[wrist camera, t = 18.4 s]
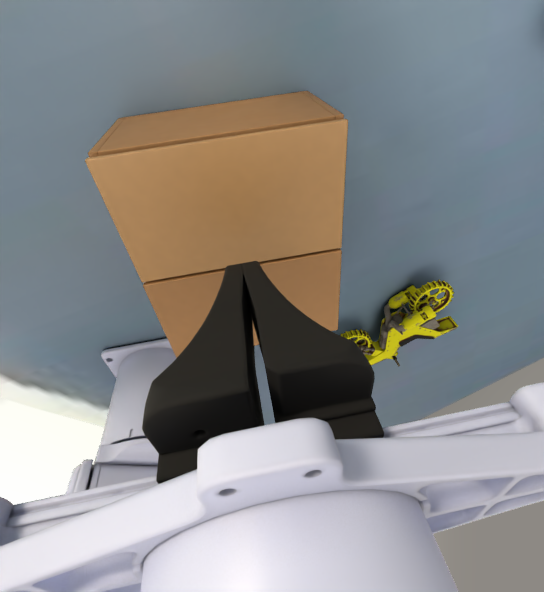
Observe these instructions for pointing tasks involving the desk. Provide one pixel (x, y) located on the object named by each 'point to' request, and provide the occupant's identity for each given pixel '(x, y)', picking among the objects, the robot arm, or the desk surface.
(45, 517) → the robot arm
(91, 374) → the desk surface
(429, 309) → the toy motorcycle
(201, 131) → the toy box
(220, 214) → the flap
